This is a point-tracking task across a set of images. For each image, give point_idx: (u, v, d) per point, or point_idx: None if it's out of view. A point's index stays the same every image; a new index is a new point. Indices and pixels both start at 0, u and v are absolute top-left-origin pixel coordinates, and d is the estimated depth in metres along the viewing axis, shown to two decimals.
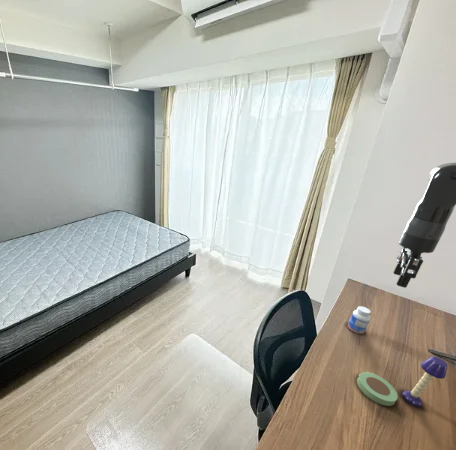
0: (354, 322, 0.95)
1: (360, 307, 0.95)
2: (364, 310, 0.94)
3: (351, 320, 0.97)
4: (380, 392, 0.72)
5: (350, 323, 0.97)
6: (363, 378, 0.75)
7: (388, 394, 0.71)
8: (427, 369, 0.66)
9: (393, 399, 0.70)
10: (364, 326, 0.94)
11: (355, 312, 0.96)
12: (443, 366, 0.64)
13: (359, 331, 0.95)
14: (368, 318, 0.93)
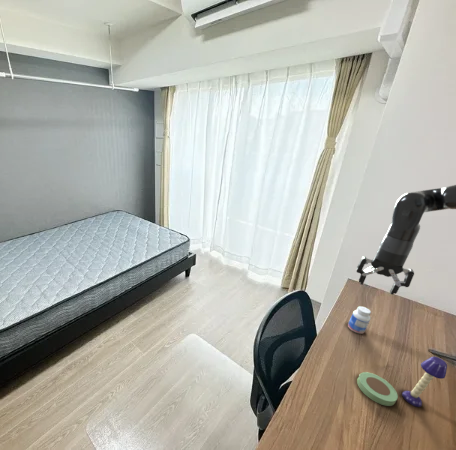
0: (354, 322, 0.95)
1: (360, 307, 0.95)
2: (364, 310, 0.94)
3: (351, 320, 0.97)
4: (380, 392, 0.72)
5: (350, 323, 0.97)
6: (363, 378, 0.75)
7: (388, 394, 0.71)
8: (427, 369, 0.66)
9: (393, 399, 0.70)
10: (364, 326, 0.94)
11: (355, 312, 0.96)
12: (443, 366, 0.64)
13: (359, 331, 0.95)
14: (368, 318, 0.93)
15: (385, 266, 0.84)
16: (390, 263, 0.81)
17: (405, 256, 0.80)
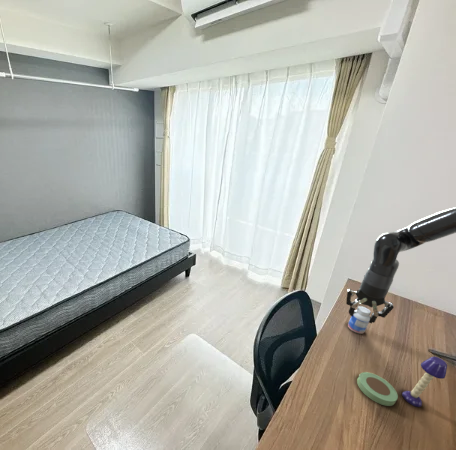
0: (354, 322, 0.95)
1: (360, 307, 0.95)
2: (364, 310, 0.94)
3: (351, 320, 0.97)
4: (380, 392, 0.72)
5: (350, 323, 0.97)
6: (363, 378, 0.75)
7: (388, 394, 0.71)
8: (427, 369, 0.66)
9: (393, 399, 0.70)
10: (364, 326, 0.94)
11: (355, 312, 0.96)
12: (443, 366, 0.64)
13: (359, 331, 0.95)
14: (368, 318, 0.93)
15: (369, 297, 0.91)
16: (372, 296, 0.88)
17: (386, 290, 0.86)
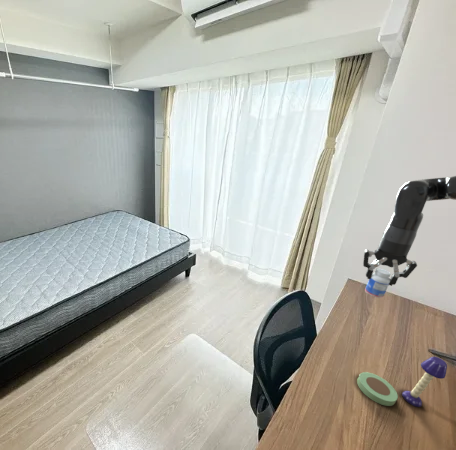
0: (372, 285, 0.88)
1: (379, 269, 0.88)
2: (383, 271, 0.86)
3: (369, 284, 0.89)
4: (380, 392, 0.72)
5: (368, 287, 0.90)
6: (363, 378, 0.75)
7: (388, 394, 0.71)
8: (427, 369, 0.66)
9: (393, 399, 0.70)
10: (384, 289, 0.86)
11: (373, 275, 0.88)
12: (443, 366, 0.64)
13: (378, 295, 0.87)
14: (388, 280, 0.85)
15: (389, 256, 0.84)
16: (393, 253, 0.81)
17: (408, 245, 0.79)
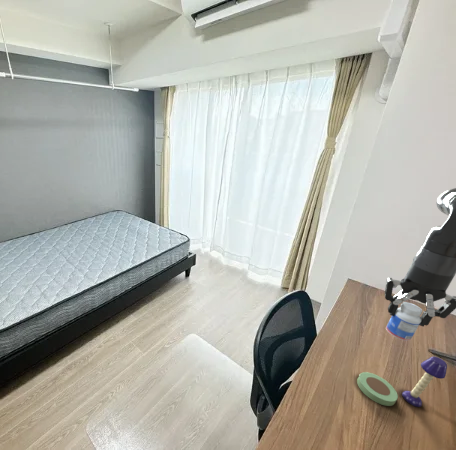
0: (397, 325, 0.68)
1: (405, 303, 0.67)
2: (412, 308, 0.66)
3: (392, 322, 0.69)
4: (380, 392, 0.72)
5: (390, 326, 0.69)
6: (363, 378, 0.75)
7: (388, 394, 0.71)
8: (427, 369, 0.66)
9: (393, 399, 0.70)
10: (412, 331, 0.66)
11: (398, 310, 0.68)
12: (443, 366, 0.64)
13: (404, 337, 0.67)
14: (418, 319, 0.65)
15: (421, 289, 0.63)
16: (429, 286, 0.60)
17: (450, 277, 0.58)
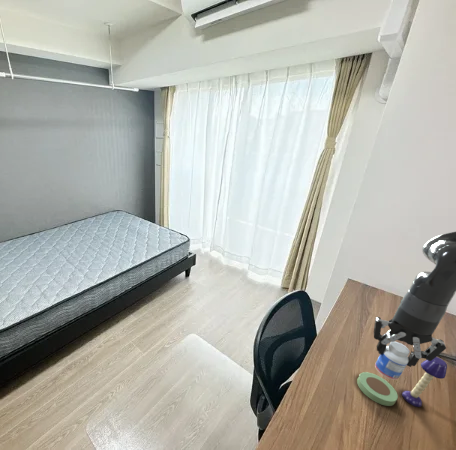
0: (385, 364, 0.69)
1: (394, 343, 0.68)
2: (400, 348, 0.67)
3: (380, 360, 0.70)
4: (380, 392, 0.72)
5: (379, 364, 0.70)
6: (363, 378, 0.75)
7: (388, 394, 0.71)
8: (427, 369, 0.66)
9: (393, 399, 0.70)
10: (400, 371, 0.67)
11: (386, 350, 0.69)
12: (443, 366, 0.64)
13: (392, 377, 0.68)
14: (406, 360, 0.66)
15: (408, 332, 0.65)
16: (415, 331, 0.62)
17: (436, 323, 0.60)
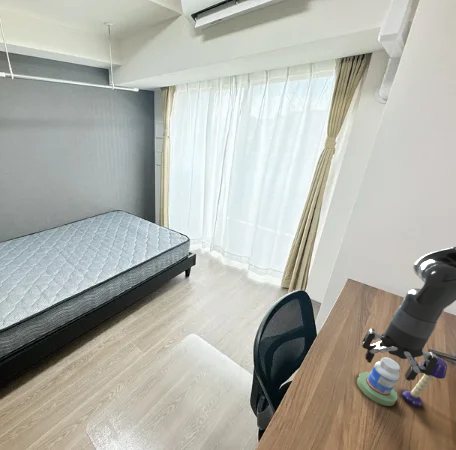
0: (377, 379, 0.71)
1: (385, 359, 0.71)
2: (391, 364, 0.69)
3: (372, 375, 0.72)
4: None
5: (371, 379, 0.73)
6: (363, 378, 0.75)
7: (388, 394, 0.71)
8: None
9: (393, 399, 0.70)
10: (391, 386, 0.69)
11: (378, 365, 0.71)
12: (443, 366, 0.64)
13: (384, 391, 0.71)
14: (397, 376, 0.69)
15: (399, 346, 0.67)
16: (406, 346, 0.64)
17: (426, 339, 0.62)
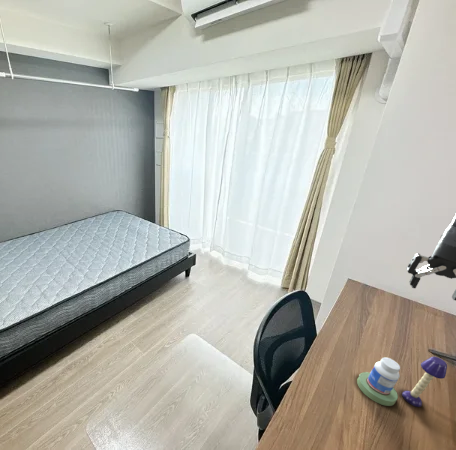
0: (377, 379, 0.71)
1: (385, 359, 0.71)
2: (391, 364, 0.69)
3: (372, 375, 0.72)
4: None
5: (371, 379, 0.73)
6: (363, 378, 0.75)
7: (388, 394, 0.71)
8: (427, 369, 0.66)
9: (393, 399, 0.70)
10: (391, 386, 0.69)
11: (378, 365, 0.71)
12: (443, 366, 0.64)
13: (384, 391, 0.71)
14: (397, 376, 0.69)
15: (448, 265, 0.67)
16: None
17: None
